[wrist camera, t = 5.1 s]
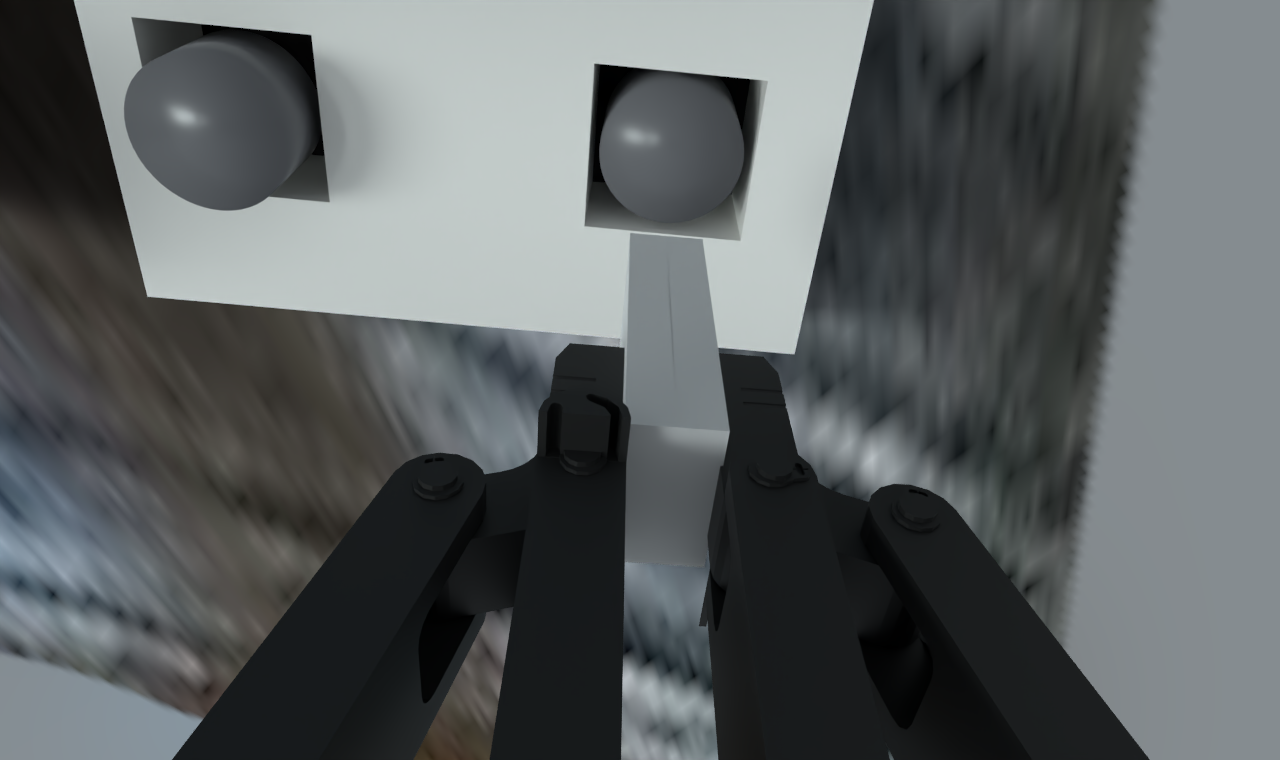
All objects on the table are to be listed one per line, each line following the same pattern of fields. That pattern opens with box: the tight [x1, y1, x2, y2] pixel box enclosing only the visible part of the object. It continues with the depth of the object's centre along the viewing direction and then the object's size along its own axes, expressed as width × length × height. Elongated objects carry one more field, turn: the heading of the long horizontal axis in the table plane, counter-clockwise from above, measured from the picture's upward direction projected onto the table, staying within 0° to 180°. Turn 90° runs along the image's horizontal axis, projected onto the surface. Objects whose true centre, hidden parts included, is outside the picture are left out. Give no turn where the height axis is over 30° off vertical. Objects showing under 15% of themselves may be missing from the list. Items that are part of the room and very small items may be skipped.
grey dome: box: [599, 68, 744, 223], centre depth 27 cm, size 4×4×3 cm
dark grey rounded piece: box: [124, 30, 322, 211], centre depth 25 cm, size 4×4×3 cm
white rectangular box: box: [74, 0, 874, 354], centre depth 28 cm, size 22×13×4 cm, turn 85°
